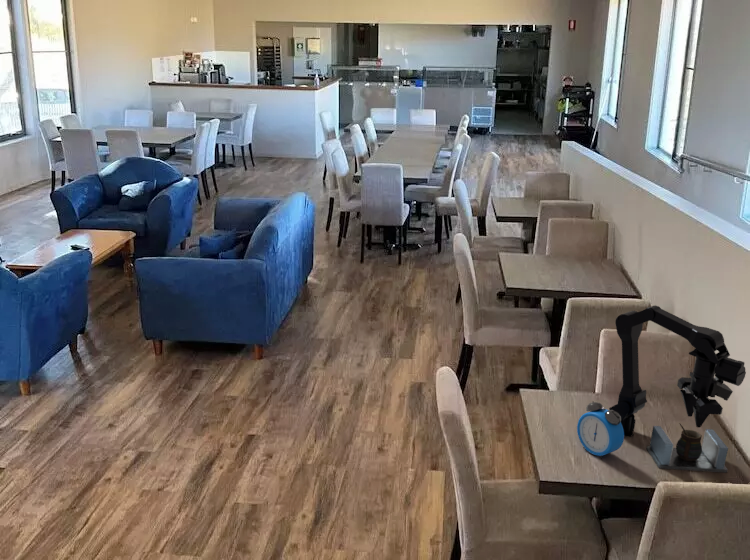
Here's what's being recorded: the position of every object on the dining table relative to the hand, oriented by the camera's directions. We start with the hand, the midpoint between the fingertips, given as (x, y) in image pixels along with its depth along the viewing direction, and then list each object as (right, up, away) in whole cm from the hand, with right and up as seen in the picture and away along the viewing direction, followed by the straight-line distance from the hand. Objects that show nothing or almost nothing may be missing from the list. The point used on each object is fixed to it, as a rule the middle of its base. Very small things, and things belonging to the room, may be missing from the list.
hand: (693, 421), depth 221 cm
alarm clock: (-27, -10, +6) cm, 29 cm away
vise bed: (-1, -12, +4) cm, 13 cm away
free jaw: (-9, -11, +4) cm, 14 cm away
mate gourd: (-1, -12, +4) cm, 12 cm away
